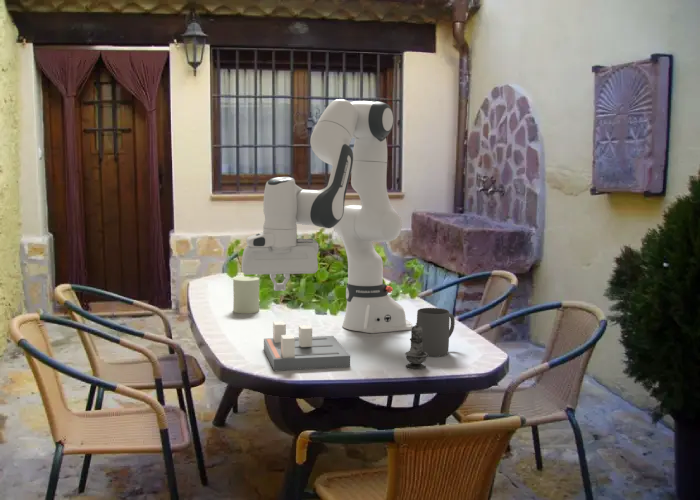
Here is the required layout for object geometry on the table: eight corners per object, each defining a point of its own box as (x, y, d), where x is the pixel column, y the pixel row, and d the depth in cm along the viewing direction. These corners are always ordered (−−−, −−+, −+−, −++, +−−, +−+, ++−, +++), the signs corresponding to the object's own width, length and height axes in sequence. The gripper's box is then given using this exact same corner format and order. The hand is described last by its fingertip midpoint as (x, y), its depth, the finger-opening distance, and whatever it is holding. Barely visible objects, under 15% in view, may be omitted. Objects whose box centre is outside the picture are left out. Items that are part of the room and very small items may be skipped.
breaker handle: (309, 343, 206) (309, 325, 205) (312, 346, 202) (312, 328, 202) (298, 343, 205) (298, 325, 205) (301, 347, 202) (301, 328, 201)
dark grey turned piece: (403, 363, 200) (404, 319, 198) (424, 363, 200) (426, 319, 199) (406, 370, 194) (407, 324, 192) (429, 370, 194) (430, 324, 193)
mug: (433, 358, 205) (434, 315, 204) (409, 352, 212) (410, 310, 210) (465, 350, 214) (466, 309, 213) (441, 344, 221) (442, 304, 219)
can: (264, 310, 265) (264, 276, 264) (247, 314, 257) (247, 280, 256) (244, 307, 270) (244, 274, 269) (227, 311, 262) (227, 277, 261)
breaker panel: (332, 345, 217) (333, 318, 216) (350, 366, 196) (350, 336, 195) (263, 348, 213) (263, 321, 212) (273, 370, 191) (273, 340, 190)
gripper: (316, 237, 204) (315, 287, 206) (240, 237, 199) (240, 289, 201) (320, 239, 198) (320, 291, 200) (242, 240, 193) (242, 293, 195)
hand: (279, 290), depth 200 cm, fingers closed
